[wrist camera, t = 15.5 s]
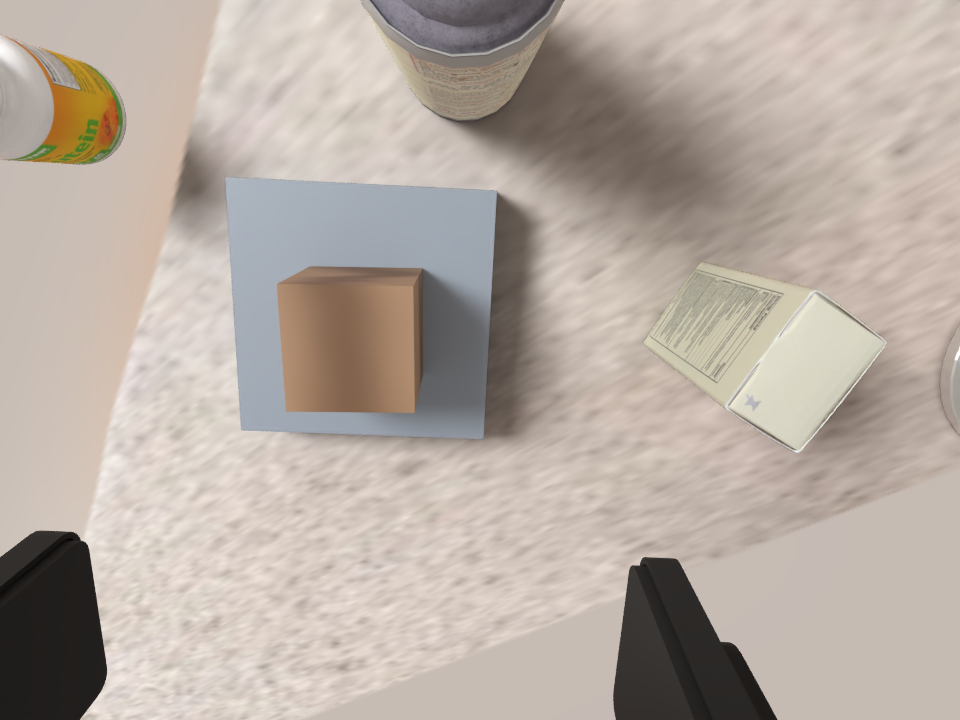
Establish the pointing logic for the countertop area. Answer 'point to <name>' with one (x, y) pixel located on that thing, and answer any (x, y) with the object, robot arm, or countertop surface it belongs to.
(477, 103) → the aerosol can
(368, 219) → the slate base block
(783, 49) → the countertop surface
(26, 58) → the supplement bottle
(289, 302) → the walnut cube
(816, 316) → the skincare box
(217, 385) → the countertop surface
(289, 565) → the countertop surface
